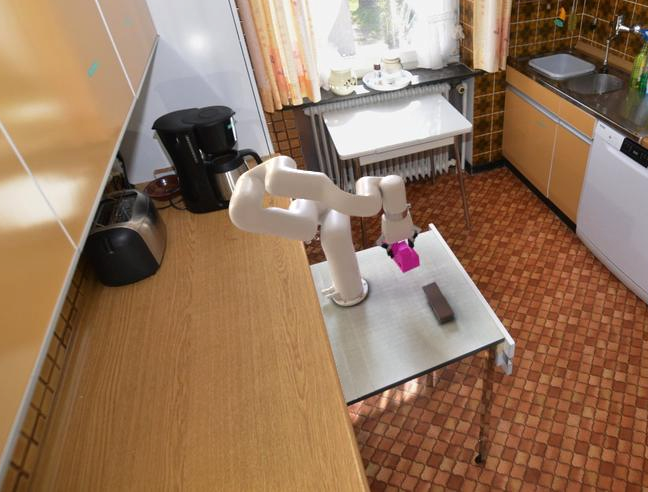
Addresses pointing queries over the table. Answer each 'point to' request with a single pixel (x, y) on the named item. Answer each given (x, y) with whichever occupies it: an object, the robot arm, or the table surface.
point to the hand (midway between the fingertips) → (400, 252)
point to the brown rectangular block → (438, 302)
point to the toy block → (404, 256)
